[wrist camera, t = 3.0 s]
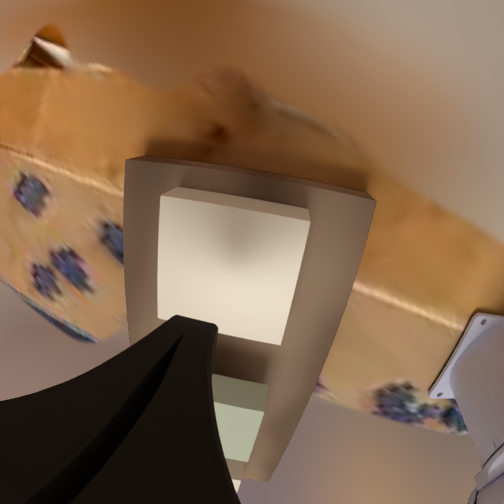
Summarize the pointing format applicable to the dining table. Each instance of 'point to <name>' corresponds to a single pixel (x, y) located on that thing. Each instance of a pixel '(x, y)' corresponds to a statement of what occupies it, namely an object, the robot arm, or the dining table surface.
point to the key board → (305, 295)
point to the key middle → (238, 414)
